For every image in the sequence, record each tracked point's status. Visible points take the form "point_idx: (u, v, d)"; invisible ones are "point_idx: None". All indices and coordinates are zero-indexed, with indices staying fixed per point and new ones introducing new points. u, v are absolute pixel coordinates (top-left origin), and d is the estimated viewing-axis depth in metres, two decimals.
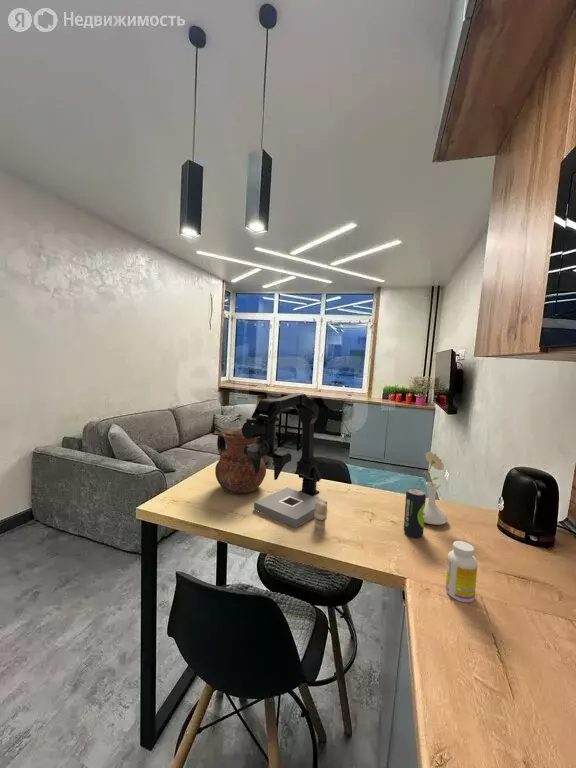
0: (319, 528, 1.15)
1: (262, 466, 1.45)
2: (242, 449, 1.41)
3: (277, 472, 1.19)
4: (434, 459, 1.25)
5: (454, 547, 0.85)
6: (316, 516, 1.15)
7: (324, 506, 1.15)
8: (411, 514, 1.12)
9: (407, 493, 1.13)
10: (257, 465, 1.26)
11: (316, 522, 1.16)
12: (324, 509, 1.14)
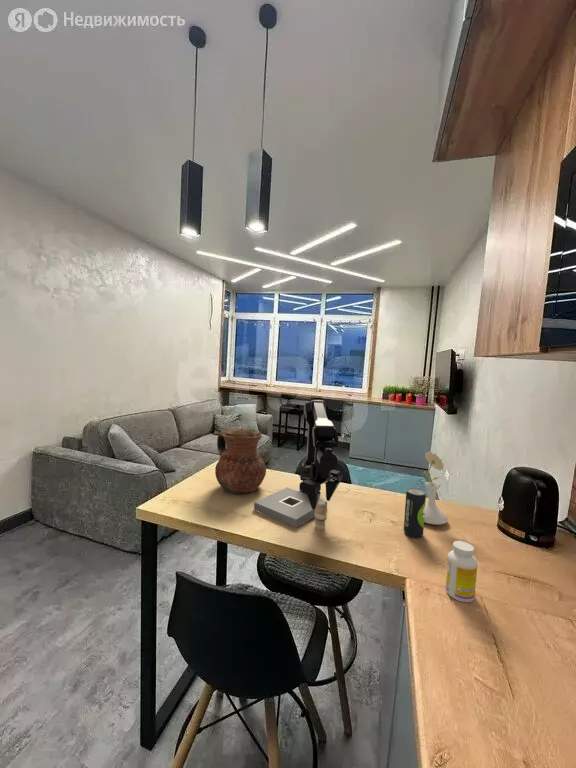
0: (319, 528, 1.15)
1: (262, 466, 1.45)
2: (242, 449, 1.41)
3: (310, 501, 1.12)
4: (434, 459, 1.25)
5: (454, 547, 0.85)
6: (316, 516, 1.15)
7: (324, 506, 1.15)
8: (411, 514, 1.12)
9: (407, 493, 1.13)
10: (329, 493, 1.19)
11: (316, 522, 1.16)
12: (324, 509, 1.14)
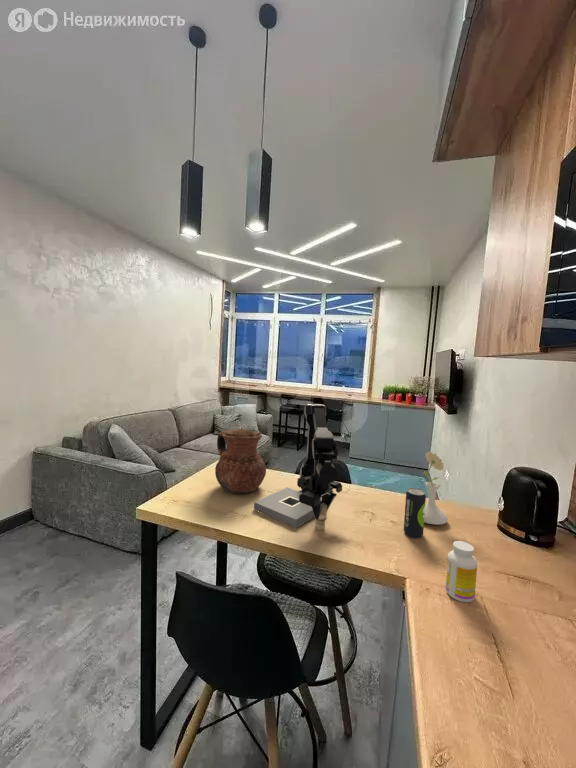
0: (319, 528, 1.15)
1: (262, 466, 1.45)
2: (242, 449, 1.41)
3: (314, 510, 1.14)
4: (434, 459, 1.25)
5: (454, 547, 0.85)
6: None
7: (324, 506, 1.15)
8: (411, 514, 1.12)
9: (407, 493, 1.13)
10: None
11: (316, 522, 1.16)
12: (324, 509, 1.14)
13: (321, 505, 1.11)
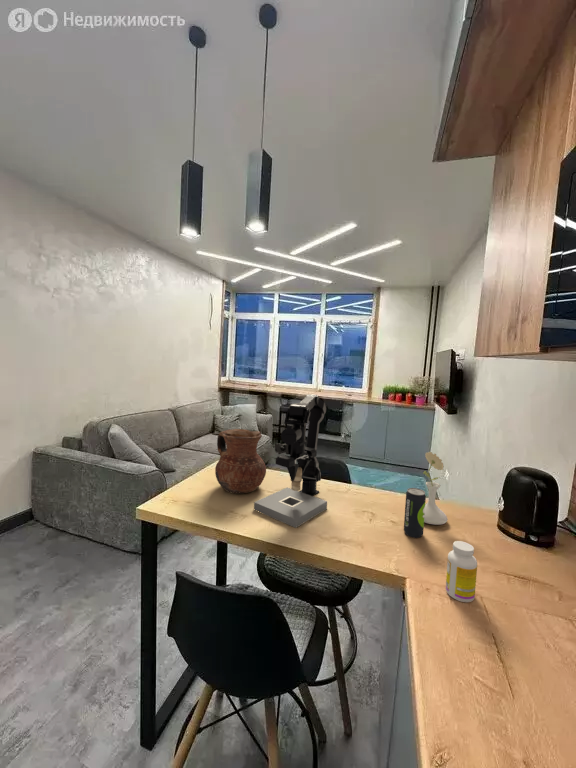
0: (295, 489, 1.26)
1: (262, 466, 1.45)
2: (242, 449, 1.41)
3: (290, 473, 1.24)
4: (434, 459, 1.25)
5: (454, 547, 0.85)
6: None
7: (299, 469, 1.26)
8: (411, 514, 1.12)
9: (407, 493, 1.13)
10: None
11: (292, 484, 1.26)
12: (299, 471, 1.25)
13: (296, 467, 1.22)
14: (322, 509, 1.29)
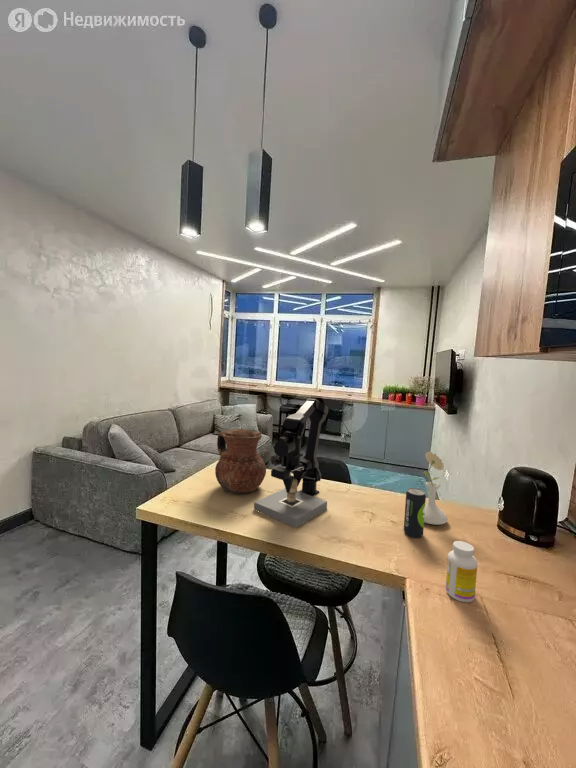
0: (290, 500, 1.28)
1: (262, 466, 1.45)
2: (242, 449, 1.41)
3: (285, 484, 1.27)
4: (434, 459, 1.25)
5: (454, 547, 0.85)
6: None
7: (294, 481, 1.28)
8: (411, 514, 1.12)
9: (407, 493, 1.13)
10: None
11: (287, 495, 1.29)
12: (294, 483, 1.27)
13: (291, 479, 1.24)
14: (322, 509, 1.29)
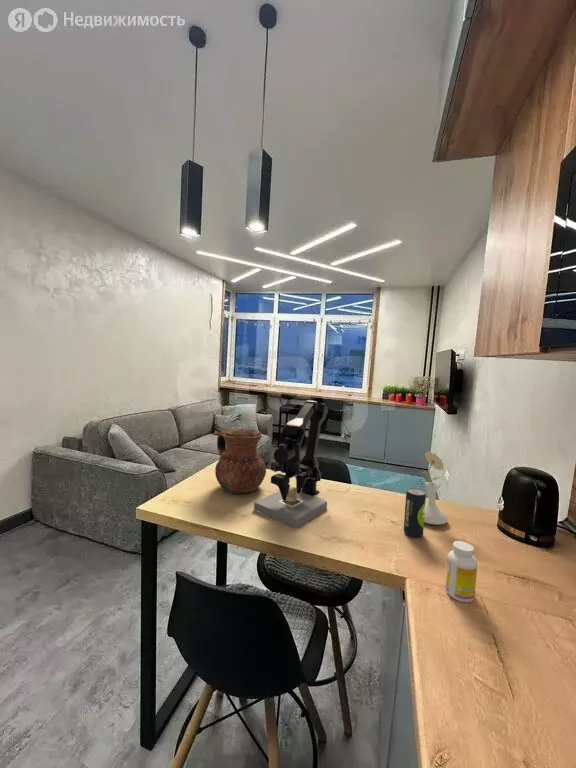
0: None
1: (262, 466, 1.45)
2: (242, 449, 1.41)
3: (281, 492, 1.25)
4: (434, 458, 1.25)
5: (454, 547, 0.85)
6: (287, 499, 1.28)
7: (294, 490, 1.28)
8: (411, 514, 1.12)
9: (407, 493, 1.13)
10: (299, 486, 1.32)
11: None
12: (294, 492, 1.28)
13: (287, 487, 1.23)
14: (322, 509, 1.29)
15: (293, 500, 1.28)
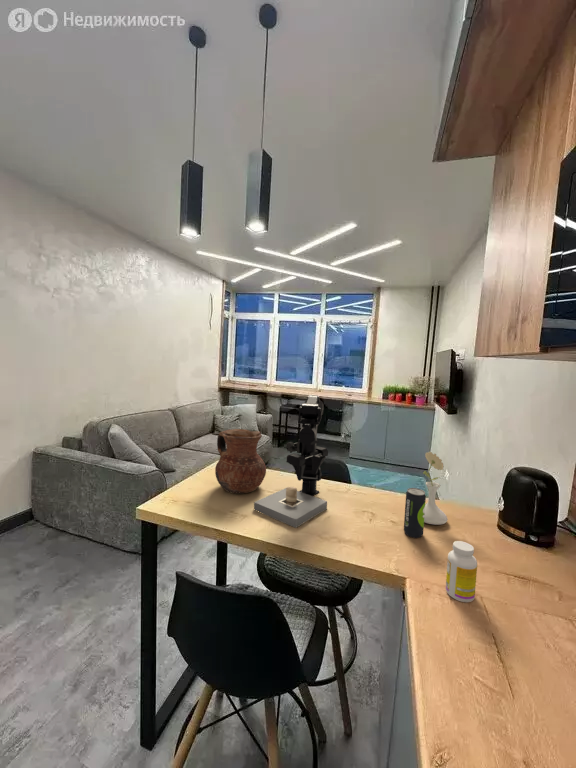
0: None
1: (262, 466, 1.45)
2: (242, 449, 1.41)
3: (296, 472, 1.24)
4: (434, 458, 1.25)
5: (454, 547, 0.85)
6: (287, 499, 1.28)
7: (294, 490, 1.28)
8: (411, 514, 1.12)
9: (407, 493, 1.13)
10: (315, 467, 1.32)
11: None
12: (294, 492, 1.28)
13: (302, 467, 1.22)
14: (322, 509, 1.29)
15: (293, 500, 1.28)
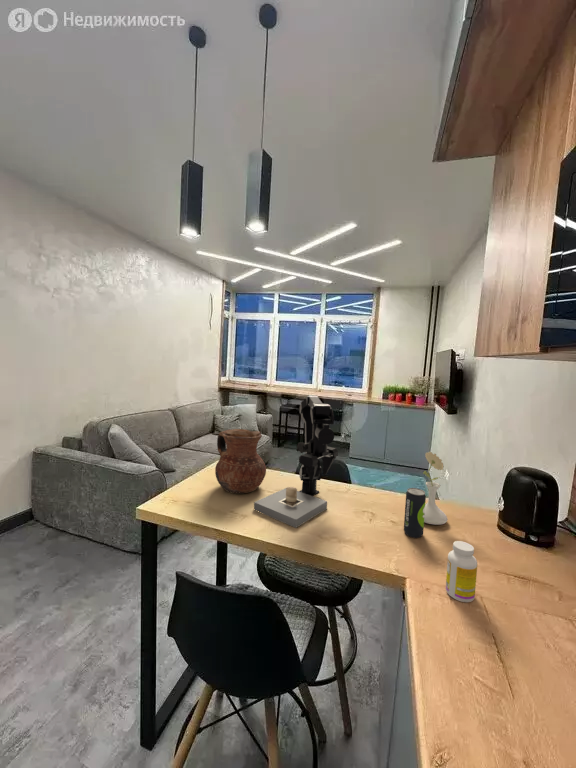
0: None
1: (262, 466, 1.45)
2: (242, 449, 1.41)
3: (309, 473, 1.24)
4: (434, 458, 1.25)
5: (454, 547, 0.85)
6: (287, 499, 1.28)
7: (294, 490, 1.28)
8: (411, 514, 1.12)
9: (407, 493, 1.13)
10: (326, 467, 1.32)
11: None
12: (294, 492, 1.28)
13: (315, 467, 1.21)
14: (322, 509, 1.29)
15: (293, 500, 1.28)
